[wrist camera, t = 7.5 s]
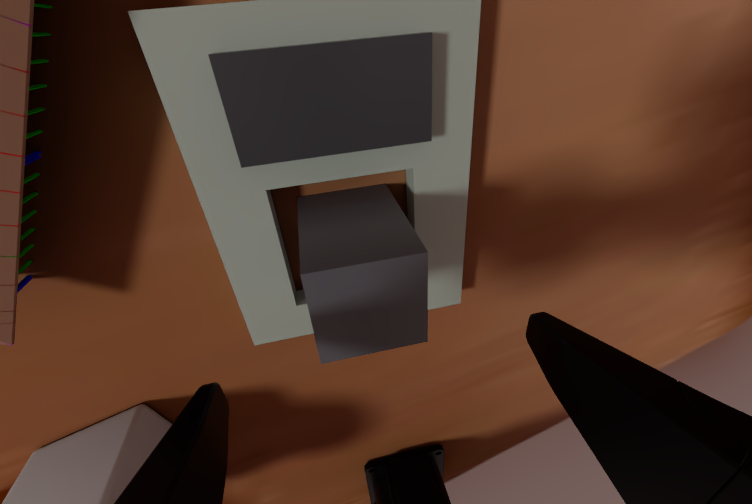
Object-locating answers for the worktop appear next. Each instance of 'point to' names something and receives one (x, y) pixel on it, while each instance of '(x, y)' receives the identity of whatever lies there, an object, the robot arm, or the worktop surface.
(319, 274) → the block
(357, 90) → the plate
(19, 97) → the house
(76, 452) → the medicine bottle
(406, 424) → the worktop surface
